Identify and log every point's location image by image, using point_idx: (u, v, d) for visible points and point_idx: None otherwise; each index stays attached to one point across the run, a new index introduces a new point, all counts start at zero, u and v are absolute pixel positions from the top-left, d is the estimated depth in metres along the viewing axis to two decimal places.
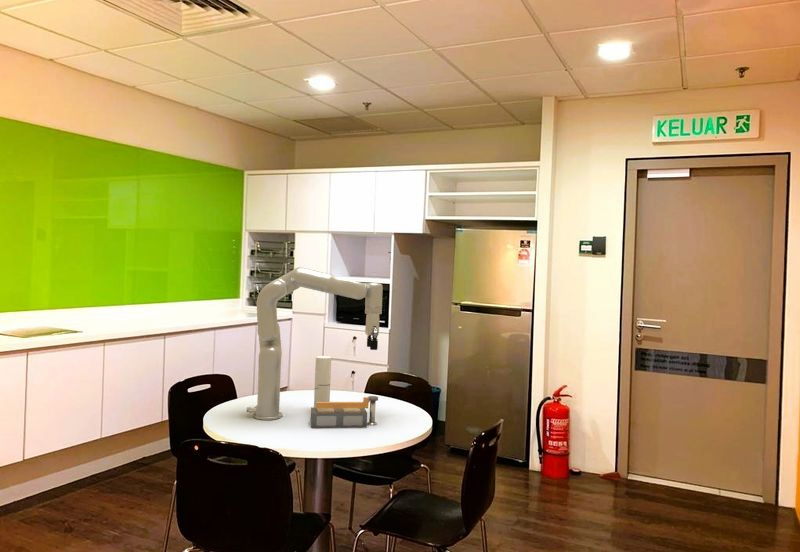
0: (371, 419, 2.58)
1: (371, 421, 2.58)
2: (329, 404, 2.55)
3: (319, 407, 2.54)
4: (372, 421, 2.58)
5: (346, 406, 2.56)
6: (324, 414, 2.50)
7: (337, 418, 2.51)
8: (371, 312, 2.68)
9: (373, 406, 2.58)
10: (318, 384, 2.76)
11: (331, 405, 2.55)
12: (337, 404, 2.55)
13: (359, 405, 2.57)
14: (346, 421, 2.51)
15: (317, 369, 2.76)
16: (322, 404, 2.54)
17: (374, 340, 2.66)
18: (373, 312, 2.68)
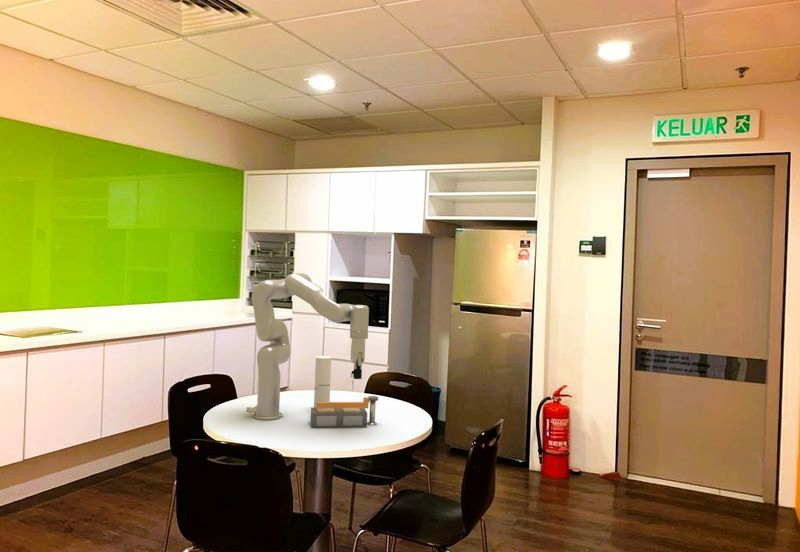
0: (371, 419, 2.58)
1: (371, 421, 2.58)
2: (329, 404, 2.55)
3: (319, 407, 2.54)
4: (372, 421, 2.58)
5: (346, 406, 2.56)
6: (324, 414, 2.50)
7: (337, 418, 2.51)
8: (356, 337, 2.48)
9: (373, 406, 2.58)
10: (318, 384, 2.76)
11: (331, 405, 2.55)
12: (337, 404, 2.55)
13: (359, 405, 2.57)
14: (346, 421, 2.51)
15: (317, 369, 2.76)
16: (322, 404, 2.54)
17: (358, 369, 2.50)
18: (358, 337, 2.48)
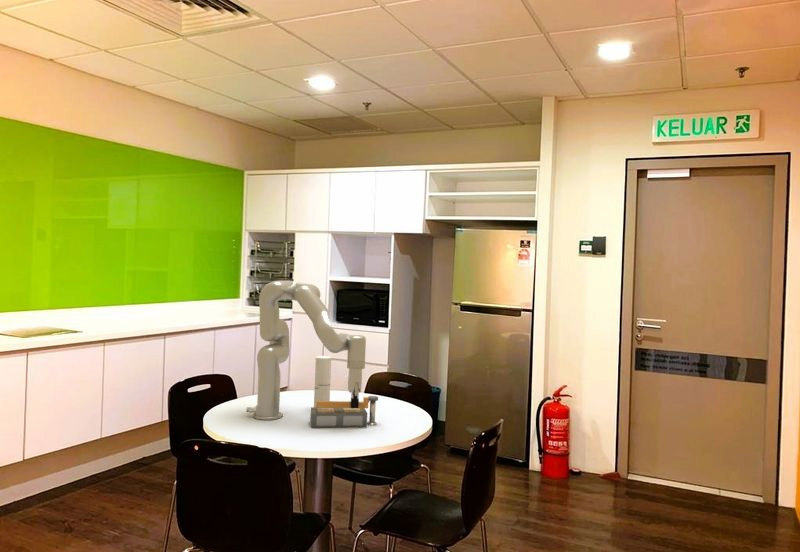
0: (371, 419, 2.58)
1: (371, 421, 2.58)
2: (329, 403, 2.56)
3: (319, 406, 2.55)
4: (372, 421, 2.58)
5: (346, 406, 2.57)
6: (324, 414, 2.50)
7: (337, 418, 2.51)
8: (353, 367, 2.52)
9: (373, 406, 2.58)
10: (318, 384, 2.76)
11: (331, 404, 2.56)
12: (337, 403, 2.56)
13: (359, 405, 2.58)
14: (346, 421, 2.51)
15: (317, 369, 2.76)
16: (322, 403, 2.56)
17: (355, 399, 2.54)
18: (355, 367, 2.52)
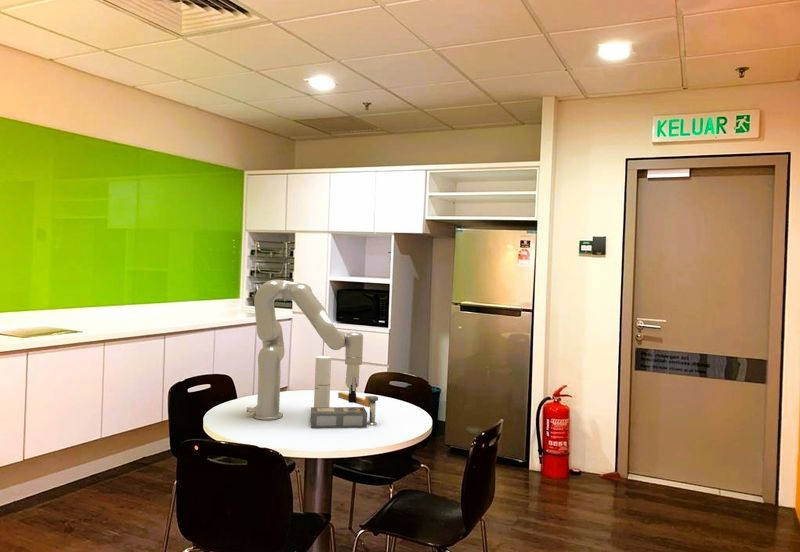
0: (371, 419, 2.58)
1: (371, 421, 2.58)
2: (345, 396, 2.73)
3: (340, 397, 2.75)
4: (372, 421, 2.58)
5: None
6: (324, 414, 2.50)
7: (337, 418, 2.51)
8: (351, 363, 2.62)
9: (373, 406, 2.58)
10: (318, 384, 2.76)
11: (346, 397, 2.72)
12: None
13: (362, 402, 2.63)
14: (346, 421, 2.51)
15: (317, 369, 2.76)
16: (341, 394, 2.75)
17: (352, 394, 2.64)
18: (353, 363, 2.62)
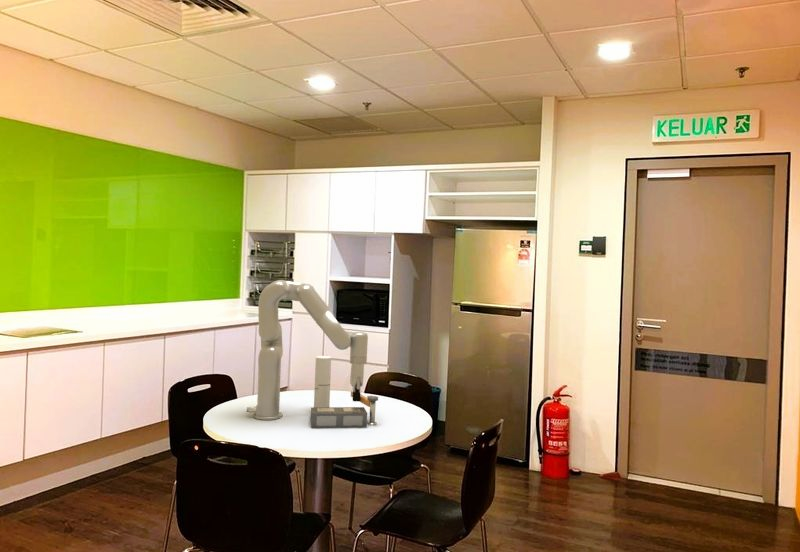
0: (371, 419, 2.58)
1: (371, 421, 2.58)
2: None
3: (351, 395, 2.79)
4: (372, 421, 2.58)
5: (360, 400, 2.69)
6: (324, 414, 2.50)
7: (337, 418, 2.51)
8: (355, 362, 2.65)
9: (373, 406, 2.58)
10: (318, 384, 2.76)
11: None
12: None
13: (365, 402, 2.64)
14: (346, 421, 2.51)
15: (317, 369, 2.76)
16: (352, 393, 2.78)
17: (356, 392, 2.68)
18: (357, 362, 2.65)
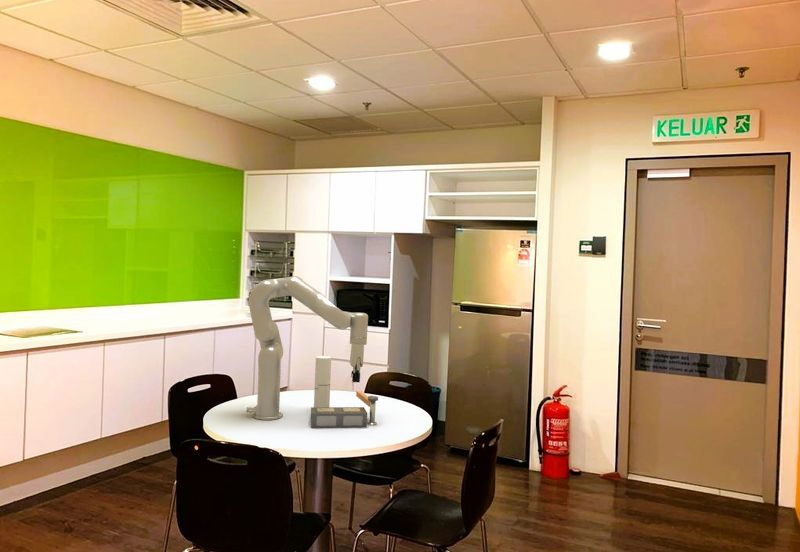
0: (371, 419, 2.58)
1: (371, 421, 2.58)
2: (359, 394, 2.76)
3: (357, 395, 2.80)
4: (372, 421, 2.58)
5: (363, 400, 2.70)
6: (324, 414, 2.50)
7: (337, 418, 2.51)
8: (356, 343, 2.64)
9: (373, 406, 2.58)
10: (318, 384, 2.76)
11: (359, 395, 2.76)
12: (361, 396, 2.73)
13: (366, 402, 2.64)
14: (346, 421, 2.51)
15: (317, 369, 2.76)
16: (357, 393, 2.79)
17: (356, 373, 2.66)
18: (358, 343, 2.64)
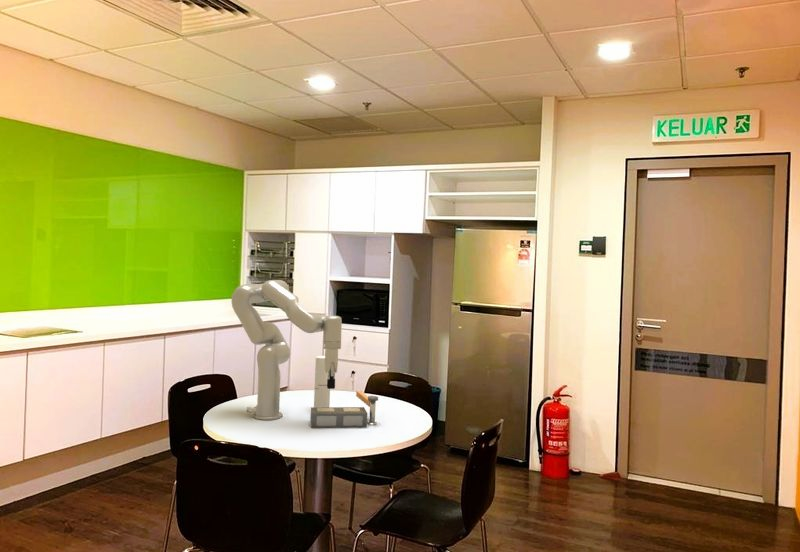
0: (371, 419, 2.58)
1: (371, 421, 2.58)
2: (359, 394, 2.76)
3: (357, 395, 2.80)
4: (372, 421, 2.58)
5: (363, 400, 2.70)
6: (324, 414, 2.50)
7: (337, 418, 2.51)
8: (329, 347, 2.52)
9: (373, 406, 2.58)
10: (318, 384, 2.76)
11: (359, 395, 2.76)
12: (361, 396, 2.73)
13: (366, 402, 2.64)
14: (346, 421, 2.51)
15: (317, 369, 2.76)
16: (357, 393, 2.79)
17: (331, 379, 2.54)
18: (331, 347, 2.52)
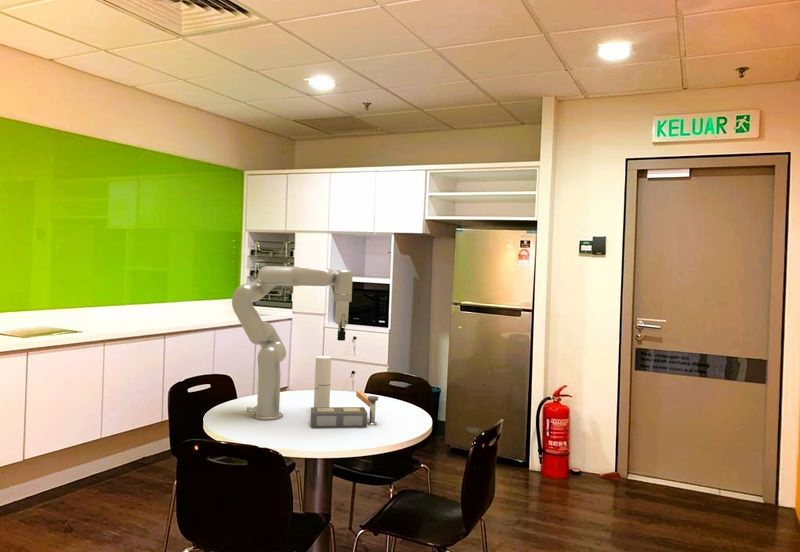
0: (371, 419, 2.58)
1: (371, 421, 2.58)
2: (359, 394, 2.76)
3: (357, 395, 2.80)
4: (372, 421, 2.58)
5: (363, 400, 2.70)
6: (324, 414, 2.50)
7: (337, 418, 2.51)
8: (340, 300, 2.58)
9: (373, 406, 2.58)
10: (318, 384, 2.76)
11: (359, 395, 2.76)
12: (361, 396, 2.73)
13: (366, 402, 2.64)
14: (346, 421, 2.51)
15: (317, 369, 2.76)
16: (357, 393, 2.79)
17: (341, 331, 2.61)
18: (342, 300, 2.58)
